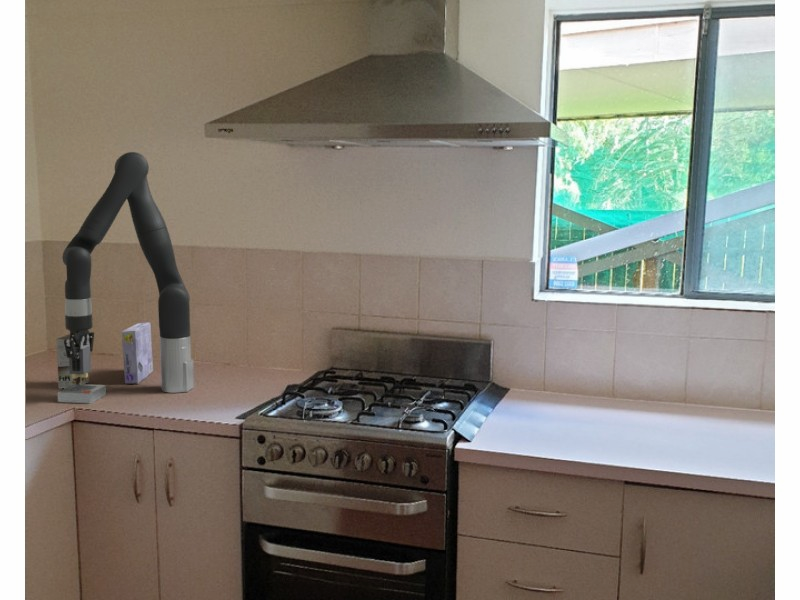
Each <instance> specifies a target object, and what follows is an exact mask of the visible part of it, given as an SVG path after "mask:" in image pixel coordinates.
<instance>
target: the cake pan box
mask: <svg viewBox="0 0 800 600" xmlns="http://www.w3.org/2000/svg"><path fill="white" fill-rule="evenodd" d="M151 328H152V327H151V322H150V321H149V322H138V323H135V324H134V325H132V326H130V327H128V328H126V329H124V330H122V331H121V339H122V340H121V342H122V343H121V344H122V345H121V346H122V358H123V370H124V371H123V373H124V384H133V385H134V384H136V385H139V384H140V383H141V382H142V381H144V380H145V379H146V378H147V377H148V376H149V375H150V374H152V373H153V372H154V364H153V363H154V362H153V348H152V345H153V344H152V332H151V331H152V329H151Z"/></svg>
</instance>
